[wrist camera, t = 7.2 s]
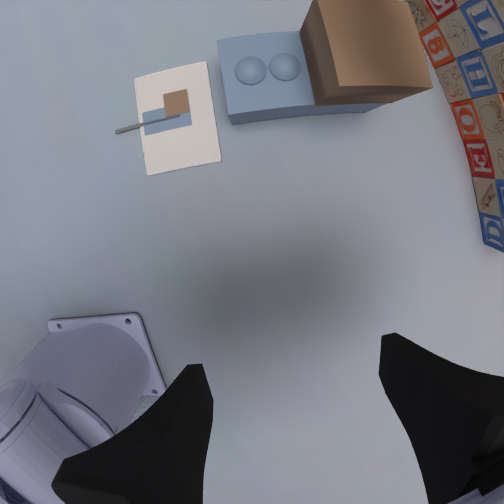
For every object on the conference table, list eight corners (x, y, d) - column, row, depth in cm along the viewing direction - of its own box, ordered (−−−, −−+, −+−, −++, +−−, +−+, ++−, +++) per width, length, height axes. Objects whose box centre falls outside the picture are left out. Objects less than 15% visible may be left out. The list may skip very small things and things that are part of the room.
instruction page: (124, 181, 19) (122, 181, 19) (112, 86, 17) (110, 85, 17) (221, 161, 19) (221, 161, 19) (206, 61, 17) (206, 60, 17)
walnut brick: (315, 106, 15) (339, 86, 10) (299, 32, 13) (315, -6, 9) (390, 103, 14) (433, 87, 10) (373, 33, 13) (407, 2, 9)
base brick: (232, 124, 19) (227, 113, 14) (222, 62, 17) (216, 37, 13) (365, 112, 18) (392, 101, 14) (353, 52, 17) (375, 30, 13)
